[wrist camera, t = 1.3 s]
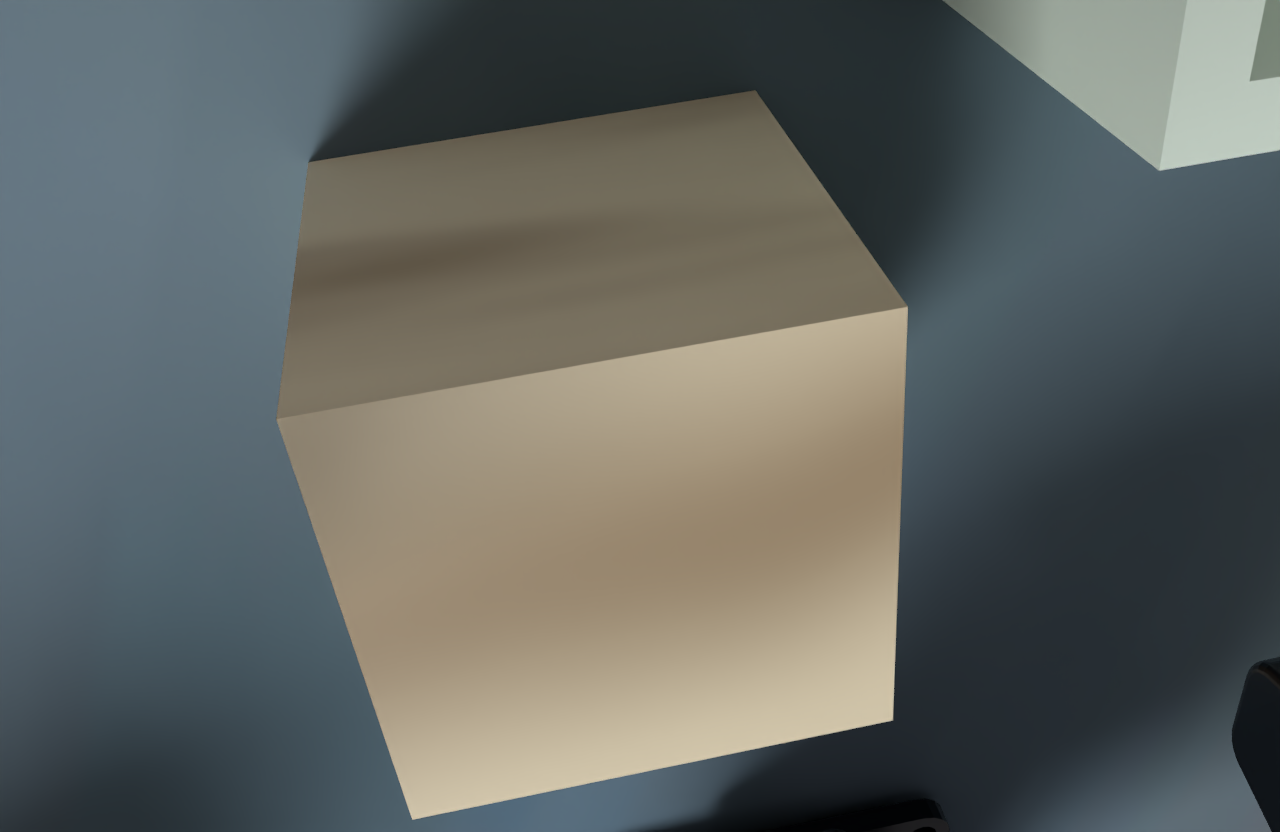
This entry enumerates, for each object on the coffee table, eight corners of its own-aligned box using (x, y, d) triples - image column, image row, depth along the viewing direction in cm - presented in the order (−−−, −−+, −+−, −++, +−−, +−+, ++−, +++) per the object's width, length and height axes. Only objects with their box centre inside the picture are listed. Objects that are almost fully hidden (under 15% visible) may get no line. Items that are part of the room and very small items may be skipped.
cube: (768, 440, 17) (892, 720, 13) (405, 507, 16) (412, 819, 12) (753, 87, 14) (907, 307, 10) (308, 159, 13) (276, 418, 9)
